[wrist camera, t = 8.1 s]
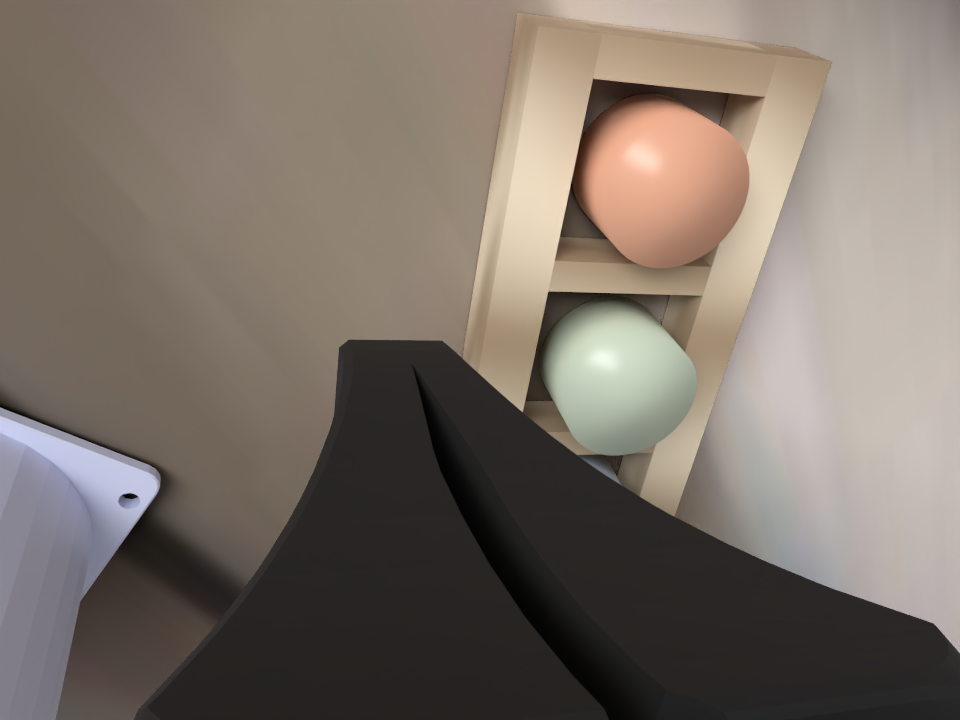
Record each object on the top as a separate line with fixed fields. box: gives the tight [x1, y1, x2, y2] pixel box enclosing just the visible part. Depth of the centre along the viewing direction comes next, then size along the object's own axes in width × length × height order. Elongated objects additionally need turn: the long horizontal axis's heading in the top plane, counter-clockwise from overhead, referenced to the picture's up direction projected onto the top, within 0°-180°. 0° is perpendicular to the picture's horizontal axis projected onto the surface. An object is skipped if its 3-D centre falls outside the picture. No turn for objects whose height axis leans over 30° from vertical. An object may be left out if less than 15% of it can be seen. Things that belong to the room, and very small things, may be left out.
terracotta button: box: [572, 94, 750, 268], centre depth 19 cm, size 3×3×2 cm
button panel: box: [462, 13, 832, 517], centre depth 22 cm, size 16×7×2 cm, turn 171°
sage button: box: [539, 297, 697, 456], centre depth 21 cm, size 3×3×2 cm
